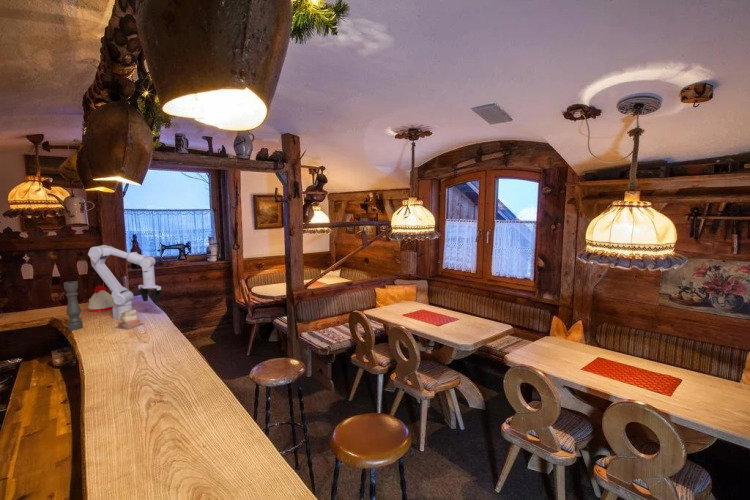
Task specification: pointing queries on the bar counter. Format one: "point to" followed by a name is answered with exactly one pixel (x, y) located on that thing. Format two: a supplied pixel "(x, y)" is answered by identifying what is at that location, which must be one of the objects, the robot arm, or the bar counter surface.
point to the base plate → (128, 328)
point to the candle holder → (73, 306)
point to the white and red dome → (100, 300)
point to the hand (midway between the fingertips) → (150, 301)
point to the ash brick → (128, 315)
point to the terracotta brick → (129, 323)
